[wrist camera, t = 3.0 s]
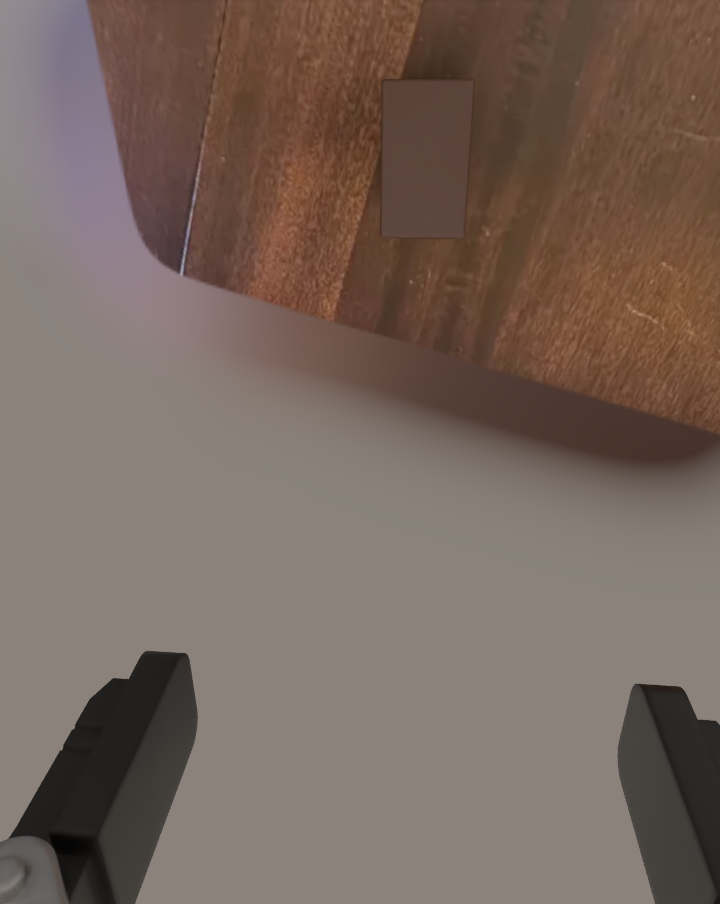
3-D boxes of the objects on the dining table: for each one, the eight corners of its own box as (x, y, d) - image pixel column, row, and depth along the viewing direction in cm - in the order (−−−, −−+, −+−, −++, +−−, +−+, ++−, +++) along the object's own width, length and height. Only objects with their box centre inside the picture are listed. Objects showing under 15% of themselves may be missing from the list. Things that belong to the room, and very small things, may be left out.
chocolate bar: (394, 199, 35) (378, 240, 24) (396, 87, 33) (380, 77, 22) (454, 200, 35) (466, 241, 24) (461, 87, 33) (476, 76, 22)
